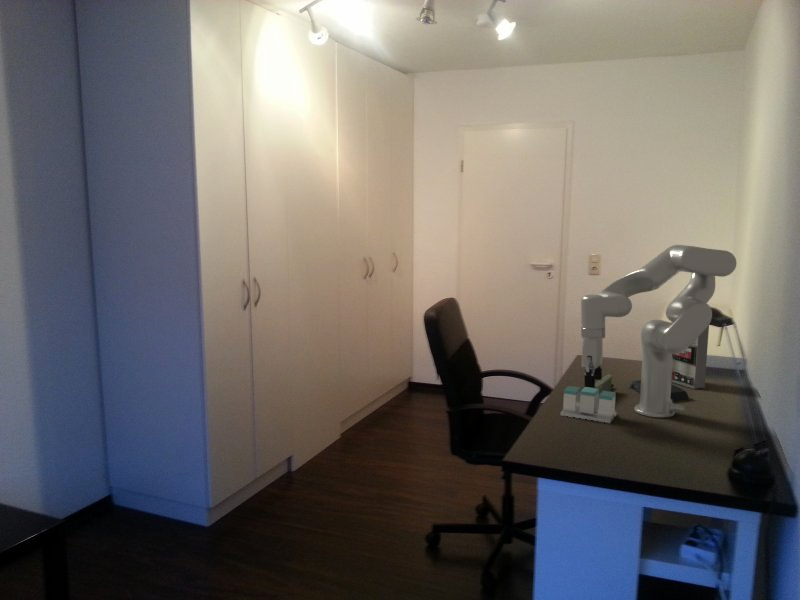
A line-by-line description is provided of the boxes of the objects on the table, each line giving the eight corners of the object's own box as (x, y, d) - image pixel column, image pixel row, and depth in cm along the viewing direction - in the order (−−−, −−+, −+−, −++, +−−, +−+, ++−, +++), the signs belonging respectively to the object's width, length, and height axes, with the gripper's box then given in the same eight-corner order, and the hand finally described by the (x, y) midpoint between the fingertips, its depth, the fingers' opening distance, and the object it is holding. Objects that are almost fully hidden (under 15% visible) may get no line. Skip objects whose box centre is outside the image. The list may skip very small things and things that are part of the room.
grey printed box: (665, 381, 259) (669, 320, 256) (677, 379, 261) (681, 319, 258) (693, 389, 246) (697, 325, 243) (705, 388, 249) (709, 324, 245)
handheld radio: (587, 403, 228) (607, 387, 249) (596, 405, 226) (615, 389, 247) (589, 385, 227) (608, 371, 248) (598, 387, 225) (617, 372, 246)
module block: (597, 409, 215) (598, 388, 214) (593, 414, 210) (594, 393, 209) (584, 407, 217) (585, 386, 216) (579, 411, 212) (580, 391, 211)
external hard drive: (654, 387, 251) (655, 377, 250) (691, 401, 233) (692, 390, 232) (626, 390, 247) (627, 379, 246) (662, 404, 229) (662, 393, 228)
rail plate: (616, 415, 214) (617, 391, 213) (609, 423, 205) (611, 398, 204) (568, 407, 222) (569, 384, 221) (560, 415, 213) (561, 391, 212)
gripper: (588, 327, 219) (588, 375, 222) (574, 337, 204) (575, 389, 207) (610, 328, 215) (610, 377, 218) (598, 338, 201) (598, 391, 203)
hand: (593, 383), depth 212 cm, fingers open, 9 cm apart
